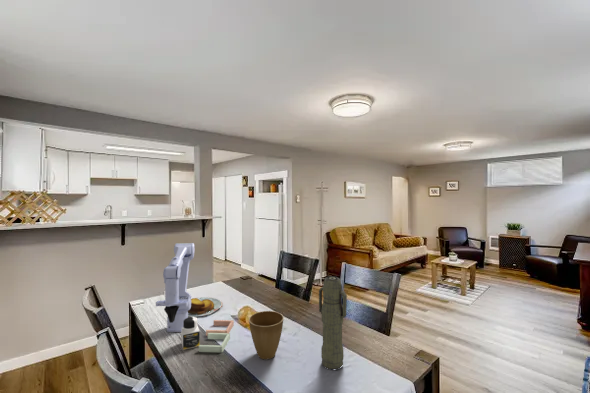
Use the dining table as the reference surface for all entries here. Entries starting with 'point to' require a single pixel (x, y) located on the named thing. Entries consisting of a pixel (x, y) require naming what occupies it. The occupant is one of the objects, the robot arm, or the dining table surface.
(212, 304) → the food on plate
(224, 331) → the terracotta bay
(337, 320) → the thermos
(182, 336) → the medicine bottle
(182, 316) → the robot arm
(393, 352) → the dining table surface
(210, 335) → the sage bay
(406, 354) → the dining table surface
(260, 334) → the plant pot
